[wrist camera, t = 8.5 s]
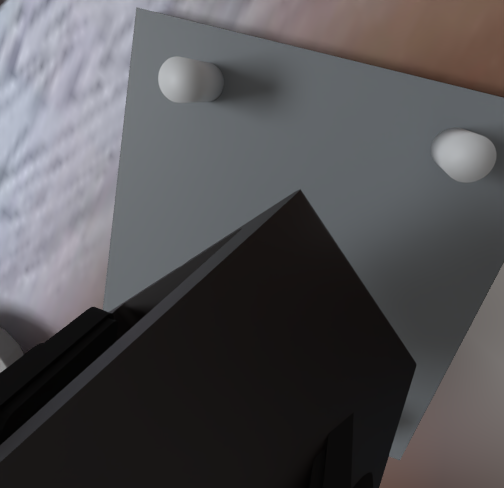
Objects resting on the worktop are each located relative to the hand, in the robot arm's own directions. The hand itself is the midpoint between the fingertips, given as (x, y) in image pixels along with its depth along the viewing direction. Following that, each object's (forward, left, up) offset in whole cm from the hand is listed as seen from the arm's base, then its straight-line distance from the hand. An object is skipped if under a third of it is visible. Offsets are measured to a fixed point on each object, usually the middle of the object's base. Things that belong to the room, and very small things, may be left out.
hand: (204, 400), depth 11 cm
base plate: (0, 0, -11) cm, 11 cm away
